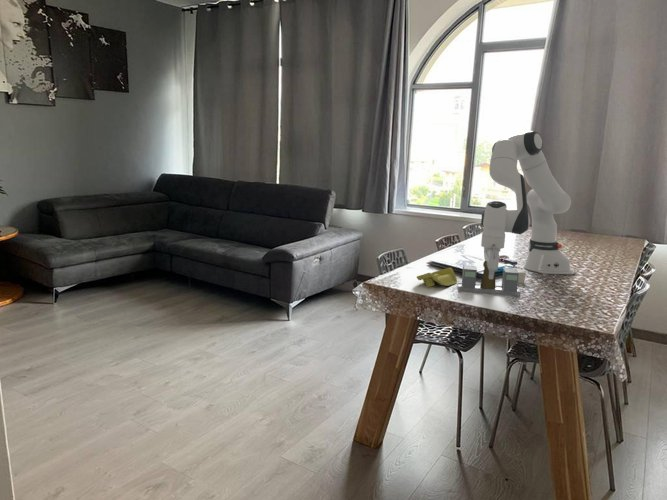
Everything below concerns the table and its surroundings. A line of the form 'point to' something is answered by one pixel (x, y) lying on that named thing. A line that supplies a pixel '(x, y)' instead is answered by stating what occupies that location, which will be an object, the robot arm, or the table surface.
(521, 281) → the beige block
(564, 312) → the table surface
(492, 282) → the cork
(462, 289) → the rail
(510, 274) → the block
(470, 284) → the block
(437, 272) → the plastic component
